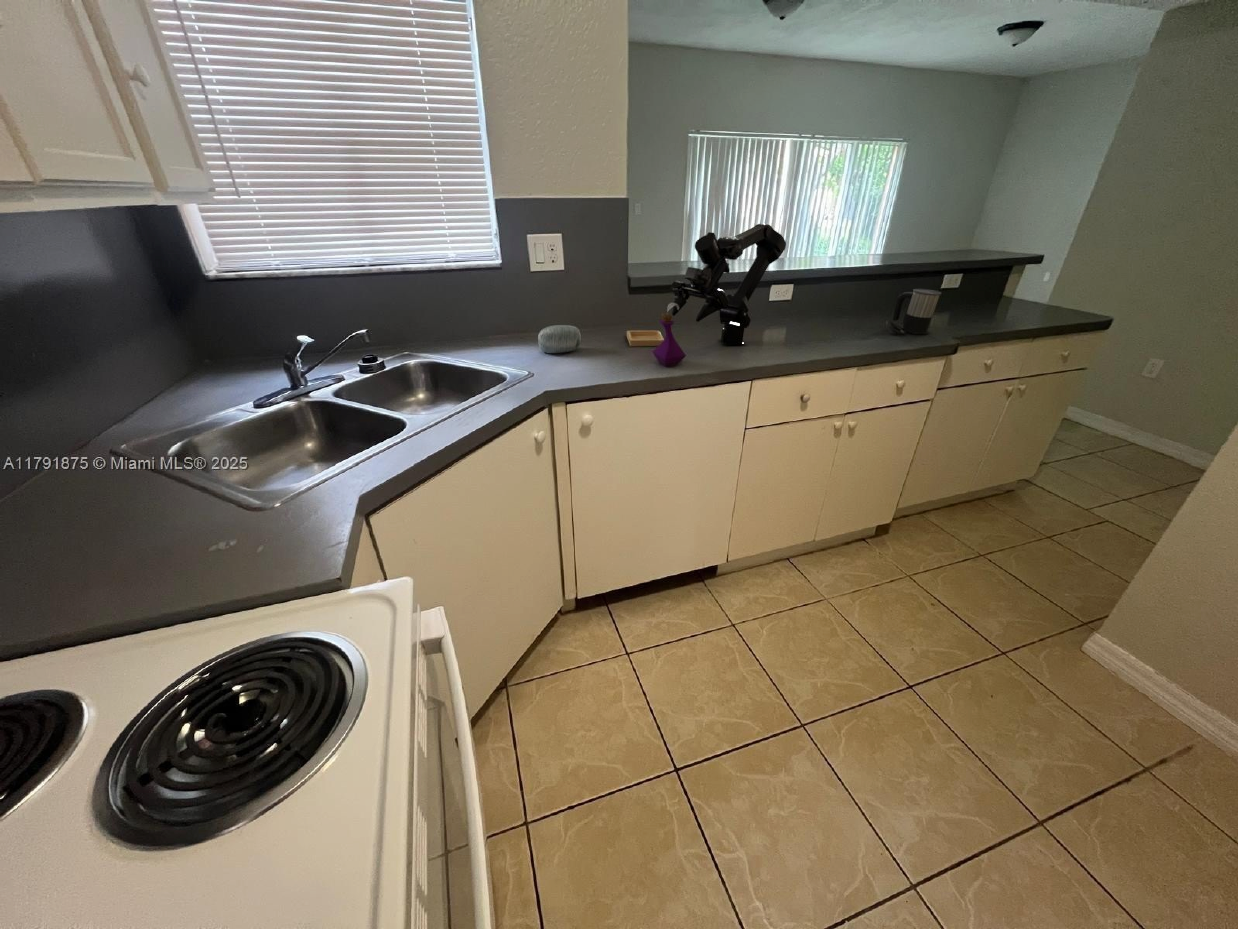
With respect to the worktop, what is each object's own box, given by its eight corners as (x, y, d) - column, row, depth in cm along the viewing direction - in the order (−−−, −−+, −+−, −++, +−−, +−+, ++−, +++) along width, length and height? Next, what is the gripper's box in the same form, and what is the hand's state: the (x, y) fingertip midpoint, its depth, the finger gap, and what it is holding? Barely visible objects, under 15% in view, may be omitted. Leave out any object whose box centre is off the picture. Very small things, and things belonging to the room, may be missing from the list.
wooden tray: (658, 336, 173) (659, 330, 172) (664, 345, 163) (664, 340, 162) (626, 336, 172) (626, 330, 171) (630, 346, 162) (630, 340, 161)
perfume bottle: (664, 369, 143) (668, 307, 134) (651, 361, 149) (654, 301, 140) (685, 366, 146) (690, 304, 137) (671, 358, 152) (676, 299, 143)
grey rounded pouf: (579, 334, 161) (574, 311, 152) (586, 355, 156) (580, 332, 148) (540, 345, 161) (532, 323, 152) (545, 366, 156) (537, 345, 147)
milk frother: (928, 330, 186) (942, 290, 179) (925, 340, 175) (940, 297, 167) (888, 324, 193) (899, 285, 185) (882, 333, 181) (894, 292, 174)
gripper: (676, 252, 145) (649, 295, 144) (728, 259, 134) (699, 306, 133) (690, 277, 154) (665, 318, 153) (740, 286, 142) (713, 330, 141)
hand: (684, 317), depth 145 cm, fingers open, 9 cm apart
